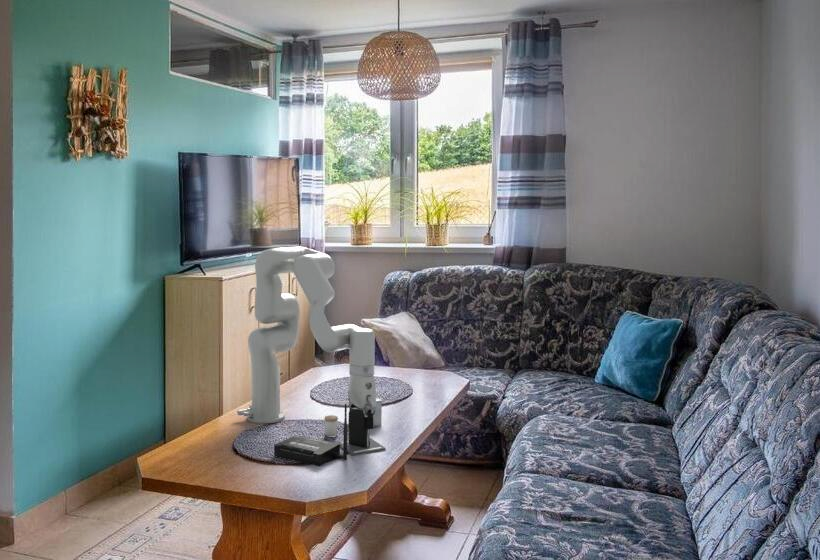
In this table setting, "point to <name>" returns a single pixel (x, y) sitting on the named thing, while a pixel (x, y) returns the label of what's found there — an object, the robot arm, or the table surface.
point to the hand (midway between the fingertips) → (361, 424)
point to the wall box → (377, 412)
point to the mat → (363, 448)
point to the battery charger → (357, 428)
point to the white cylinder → (331, 425)
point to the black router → (311, 448)
